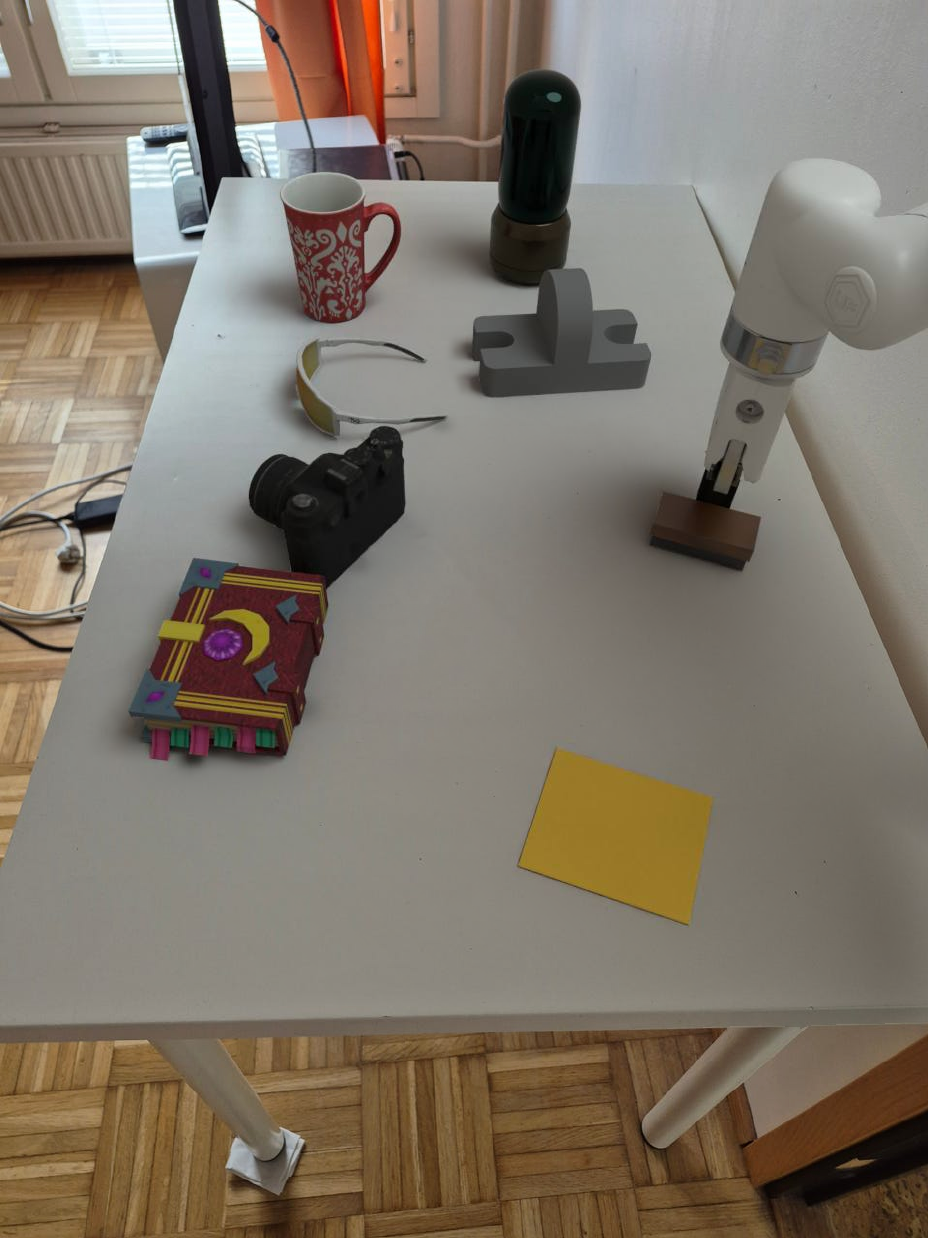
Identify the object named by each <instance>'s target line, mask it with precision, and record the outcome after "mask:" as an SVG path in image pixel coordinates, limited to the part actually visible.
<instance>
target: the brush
mask: <svg viewBox="0 0 928 1238" xmlns="http://www.w3.org/2000/svg"><path fill="white" fill-rule="evenodd" d="M695 499H696V498H691V497H687V496H684V495H680V494H675V493H673V492H668V491H662V493H661V497H660V500H659V503H658V507H657V509H656V512H655V515H654V519H653V521H652V525H651V528H650V532H649V535H650V536H651V537H650V539H649V544H648V545H649V547H654V548H658V549H660V550H661V549H662V550H665V551H668V552H672V553H675V554H679V555H682V556H687V557H690V558H693V559H698V560H700V561H705V562H708V563H712V564H716V565H720V566H722V567H727V568H730V569H734V570H736V571H741V572H743V571H744V568H745V566H746V564H747V563H749V562H750V561H751V559H752V556H753V554H754V552H755V548H756V544H757V538H758V534H759V529H760V525H761V519H762V517H761V516H759V515H755V514H751V513H749V512H744V511H740V510H736V509H732V508H730V509H729V508H725V507H721V506H718V505H714V504H710V503H706V502H703V501H699V500H695Z"/></svg>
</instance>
